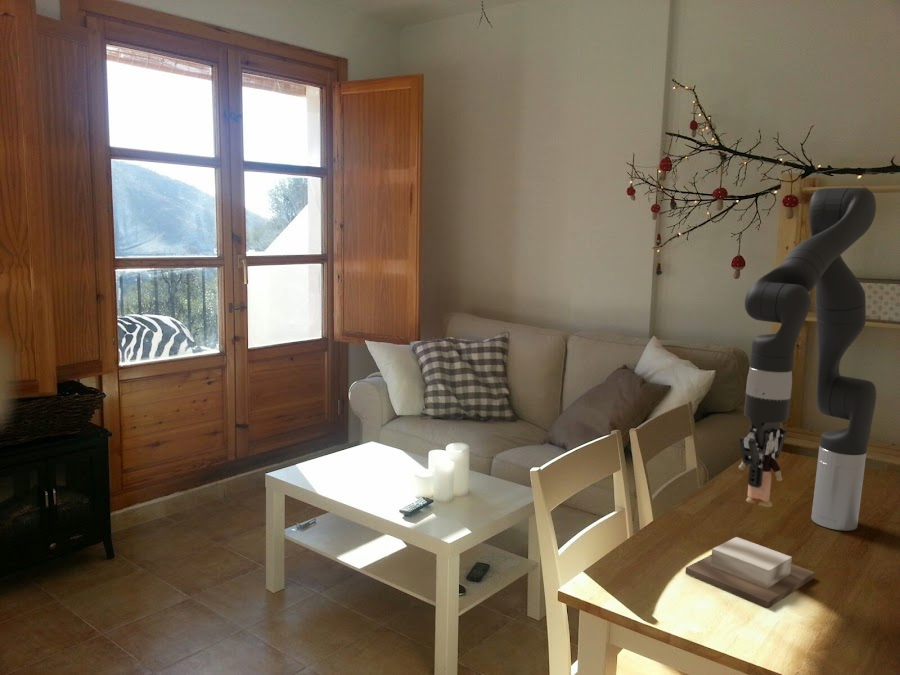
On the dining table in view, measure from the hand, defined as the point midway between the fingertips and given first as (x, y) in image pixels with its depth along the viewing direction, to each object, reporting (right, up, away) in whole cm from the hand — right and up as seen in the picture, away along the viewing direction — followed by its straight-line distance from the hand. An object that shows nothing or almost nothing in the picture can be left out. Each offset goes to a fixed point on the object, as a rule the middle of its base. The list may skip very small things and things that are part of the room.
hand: (759, 483), depth 136 cm
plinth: (-1, -18, +3) cm, 18 cm away
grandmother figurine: (-1, -4, 0) cm, 4 cm away
